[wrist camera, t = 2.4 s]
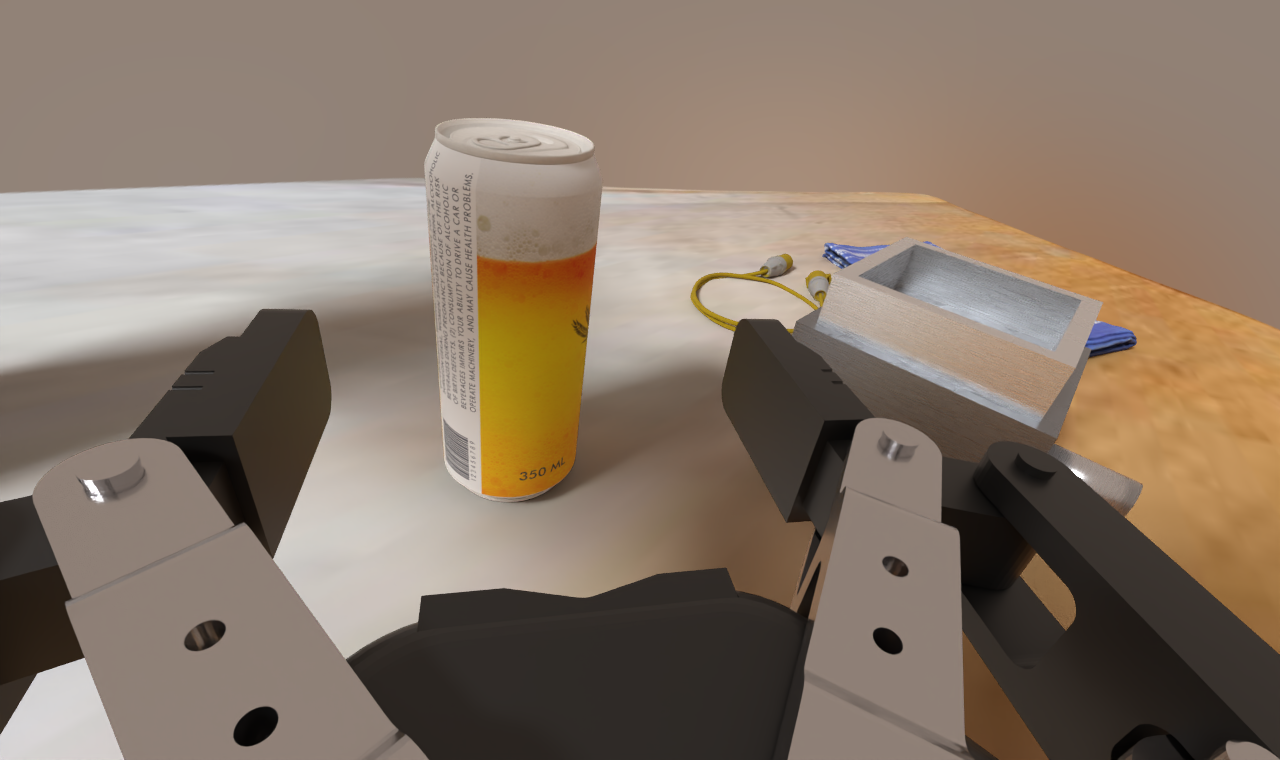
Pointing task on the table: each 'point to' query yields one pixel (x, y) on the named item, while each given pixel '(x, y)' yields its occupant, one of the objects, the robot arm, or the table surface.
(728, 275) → the extension cord
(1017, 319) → the grey hollow box
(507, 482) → the beer can
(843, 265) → the dish towel
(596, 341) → the table surface
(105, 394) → the table surface
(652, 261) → the table surface
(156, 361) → the table surface
